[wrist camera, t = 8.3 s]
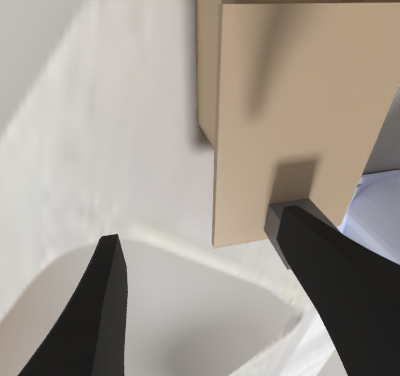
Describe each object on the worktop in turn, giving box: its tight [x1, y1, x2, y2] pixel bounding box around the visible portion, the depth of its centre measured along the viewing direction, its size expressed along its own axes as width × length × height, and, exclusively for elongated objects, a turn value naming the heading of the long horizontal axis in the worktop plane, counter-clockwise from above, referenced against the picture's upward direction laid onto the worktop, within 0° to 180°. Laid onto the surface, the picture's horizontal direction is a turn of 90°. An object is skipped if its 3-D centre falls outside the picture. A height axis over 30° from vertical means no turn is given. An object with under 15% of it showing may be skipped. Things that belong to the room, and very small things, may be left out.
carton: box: [196, 0, 400, 151], centre depth 14 cm, size 14×10×5 cm
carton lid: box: [212, 2, 400, 269], centre depth 14 cm, size 14×10×4 cm
